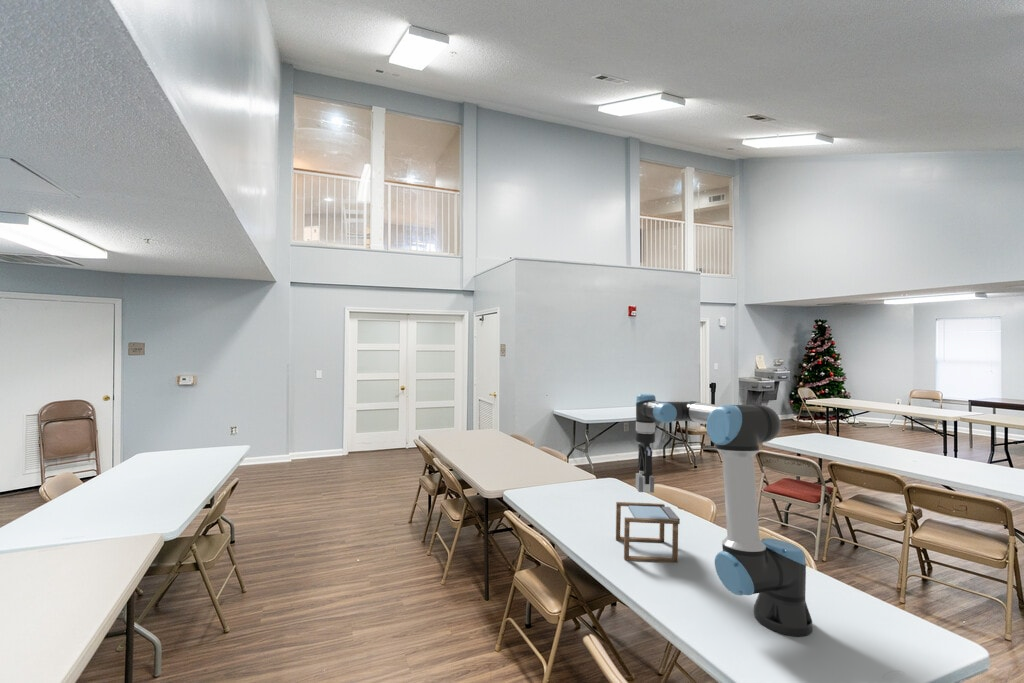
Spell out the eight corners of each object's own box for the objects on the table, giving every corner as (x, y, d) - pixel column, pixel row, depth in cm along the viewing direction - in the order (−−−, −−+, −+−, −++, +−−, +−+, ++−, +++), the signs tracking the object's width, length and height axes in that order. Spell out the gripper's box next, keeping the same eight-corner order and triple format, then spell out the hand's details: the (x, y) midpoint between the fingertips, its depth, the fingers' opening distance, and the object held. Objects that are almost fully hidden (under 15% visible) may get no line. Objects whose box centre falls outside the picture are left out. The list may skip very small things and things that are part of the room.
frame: (677, 562, 174) (678, 521, 174) (624, 560, 175) (625, 518, 175) (663, 540, 194) (663, 503, 194) (615, 538, 195) (616, 501, 195)
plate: (680, 525, 176) (680, 519, 176) (636, 523, 177) (636, 518, 177) (668, 510, 192) (668, 506, 192) (628, 509, 193) (628, 504, 193)
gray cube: (653, 492, 182) (654, 477, 182) (638, 492, 182) (639, 476, 182) (650, 488, 188) (650, 473, 188) (635, 487, 188) (635, 473, 188)
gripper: (661, 436, 176) (660, 497, 175) (648, 428, 195) (648, 482, 194) (641, 436, 176) (640, 496, 176) (631, 428, 195) (630, 482, 195)
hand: (644, 489), depth 185 cm, fingers closed on gray cube, 6 cm apart
